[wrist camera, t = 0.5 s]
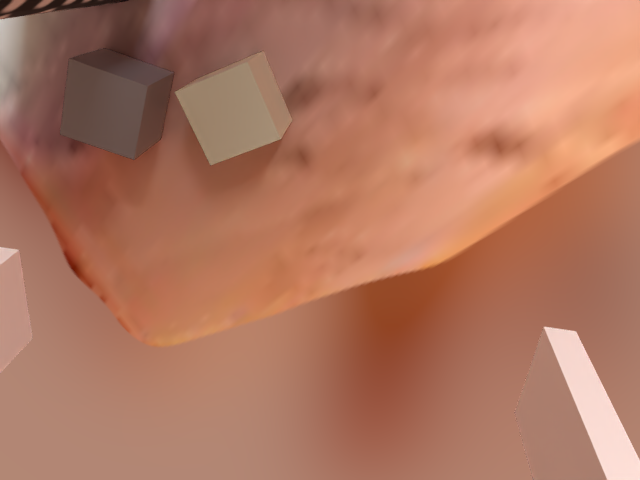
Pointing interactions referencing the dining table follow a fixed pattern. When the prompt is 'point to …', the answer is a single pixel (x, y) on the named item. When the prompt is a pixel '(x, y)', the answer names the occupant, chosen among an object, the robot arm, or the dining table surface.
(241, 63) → the sage block
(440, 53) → the dining table surface
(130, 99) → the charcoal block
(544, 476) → the robot arm
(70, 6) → the spotted tube
